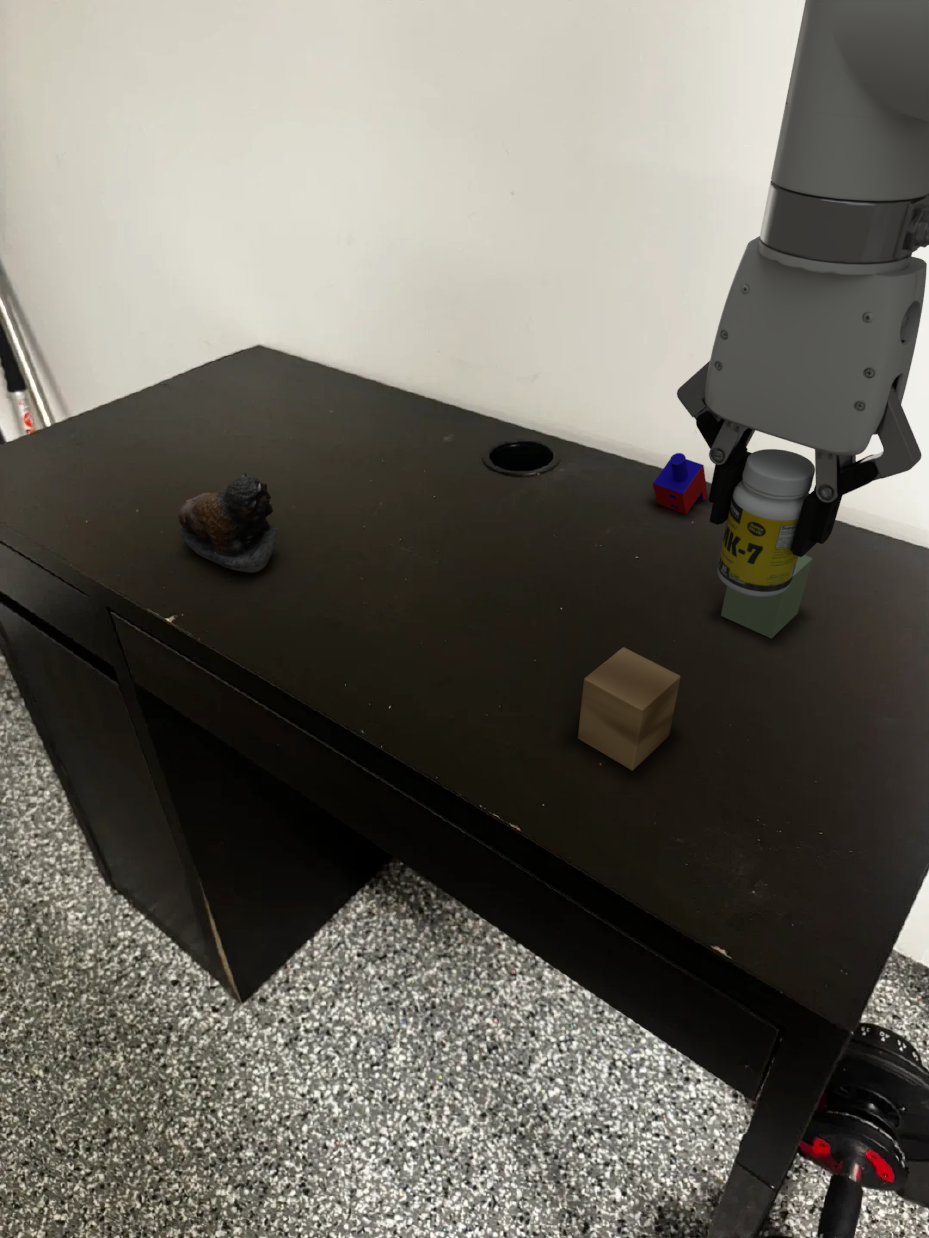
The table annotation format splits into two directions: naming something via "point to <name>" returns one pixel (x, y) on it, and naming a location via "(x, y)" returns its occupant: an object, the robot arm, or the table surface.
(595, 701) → the oak block
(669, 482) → the toy building block
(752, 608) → the sage block
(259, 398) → the table surface
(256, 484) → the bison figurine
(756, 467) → the supplement bottle
